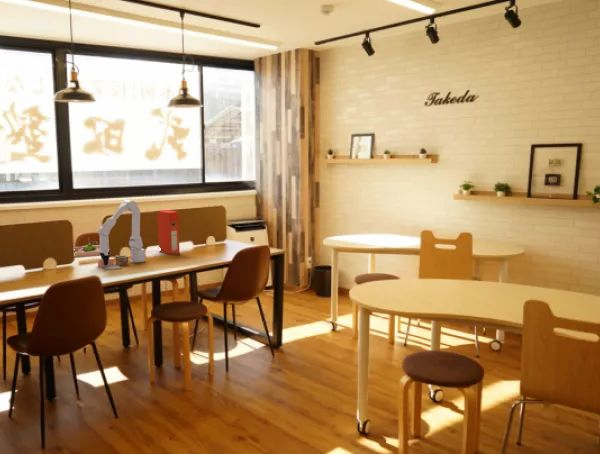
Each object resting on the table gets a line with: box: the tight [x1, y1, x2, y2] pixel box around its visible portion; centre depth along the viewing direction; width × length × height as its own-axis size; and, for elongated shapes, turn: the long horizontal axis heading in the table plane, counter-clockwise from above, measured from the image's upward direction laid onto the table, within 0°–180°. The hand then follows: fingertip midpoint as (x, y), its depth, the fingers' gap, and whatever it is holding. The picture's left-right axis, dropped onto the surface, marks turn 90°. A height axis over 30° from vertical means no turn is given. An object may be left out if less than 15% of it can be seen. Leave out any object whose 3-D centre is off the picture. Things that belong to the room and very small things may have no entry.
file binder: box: [157, 209, 180, 256], centre depth 412 cm, size 8×17×32 cm, turn 44°
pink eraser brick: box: [97, 257, 115, 268], centre depth 366 cm, size 10×3×5 cm, turn 119°
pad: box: [102, 264, 122, 271], centre depth 360 cm, size 10×10×1 cm
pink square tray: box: [73, 244, 101, 258], centre depth 410 cm, size 25×25×3 cm
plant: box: [76, 237, 100, 253], centre depth 410 cm, size 20×20×11 cm
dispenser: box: [115, 254, 129, 267], centre depth 370 cm, size 7×6×6 cm
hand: (105, 263), depth 365 cm, fingers open, 7 cm apart
